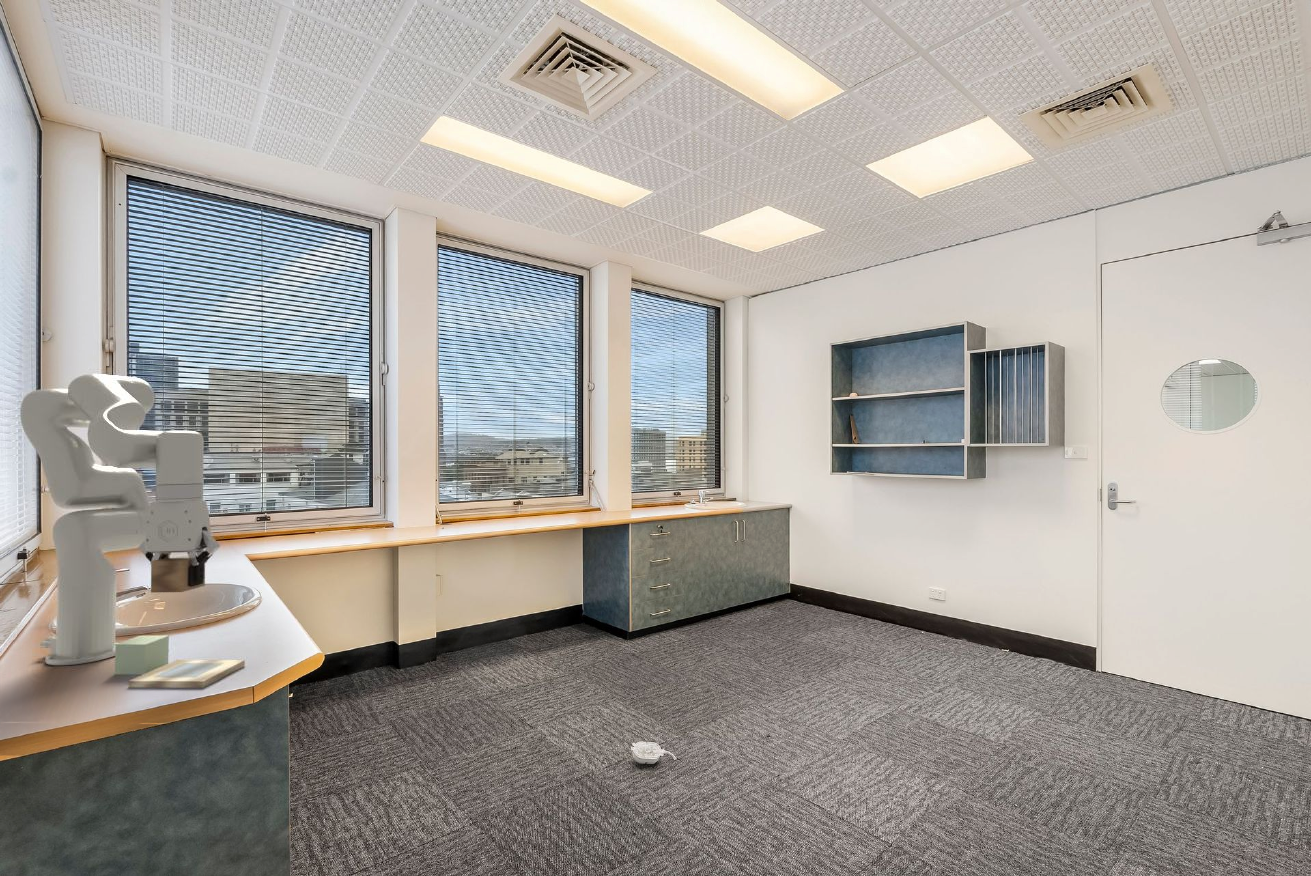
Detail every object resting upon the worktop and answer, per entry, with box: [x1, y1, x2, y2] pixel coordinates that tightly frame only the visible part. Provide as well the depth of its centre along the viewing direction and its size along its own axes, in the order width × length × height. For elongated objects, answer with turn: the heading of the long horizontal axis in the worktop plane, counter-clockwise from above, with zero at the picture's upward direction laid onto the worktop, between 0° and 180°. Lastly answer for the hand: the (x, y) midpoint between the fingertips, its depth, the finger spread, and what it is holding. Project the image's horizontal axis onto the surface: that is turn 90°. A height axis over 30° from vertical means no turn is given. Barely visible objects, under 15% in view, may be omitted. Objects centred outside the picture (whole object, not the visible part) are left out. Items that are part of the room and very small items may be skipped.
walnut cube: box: [150, 555, 206, 594], centre depth 123 cm, size 6×6×6 cm
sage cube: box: [114, 635, 170, 675], centre depth 128 cm, size 6×6×6 cm
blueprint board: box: [127, 659, 246, 689], centre depth 124 cm, size 14×12×1 cm
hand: (179, 584), depth 123 cm, fingers closed on walnut cube, 6 cm apart
